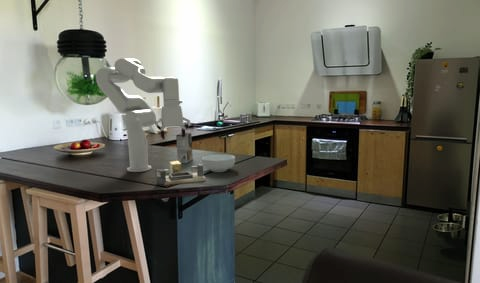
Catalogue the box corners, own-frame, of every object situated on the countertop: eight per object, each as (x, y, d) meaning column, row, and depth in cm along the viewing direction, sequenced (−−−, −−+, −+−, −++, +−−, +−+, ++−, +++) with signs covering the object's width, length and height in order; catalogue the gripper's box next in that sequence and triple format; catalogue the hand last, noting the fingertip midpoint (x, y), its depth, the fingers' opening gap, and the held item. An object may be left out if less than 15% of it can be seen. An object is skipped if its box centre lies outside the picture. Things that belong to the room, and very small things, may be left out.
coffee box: (182, 159, 217) (181, 132, 215) (193, 159, 216) (191, 132, 213) (177, 162, 208) (175, 134, 206) (187, 162, 207) (186, 134, 205)
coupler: (173, 176, 177) (172, 164, 176) (170, 173, 185) (169, 161, 184) (182, 175, 179) (181, 163, 178) (178, 172, 186) (178, 160, 185)
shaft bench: (154, 179, 172) (153, 166, 171) (199, 174, 180) (198, 162, 179) (158, 186, 161) (157, 172, 160) (205, 180, 169) (205, 167, 168)
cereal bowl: (238, 167, 193) (238, 154, 192) (231, 175, 177) (230, 160, 176) (208, 166, 197) (207, 153, 196) (198, 173, 181) (197, 160, 180)
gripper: (187, 102, 181) (189, 135, 184) (152, 103, 176) (154, 138, 178) (190, 102, 174) (192, 137, 177) (154, 104, 169) (156, 140, 171)
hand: (173, 138), depth 178 cm, fingers open, 9 cm apart
